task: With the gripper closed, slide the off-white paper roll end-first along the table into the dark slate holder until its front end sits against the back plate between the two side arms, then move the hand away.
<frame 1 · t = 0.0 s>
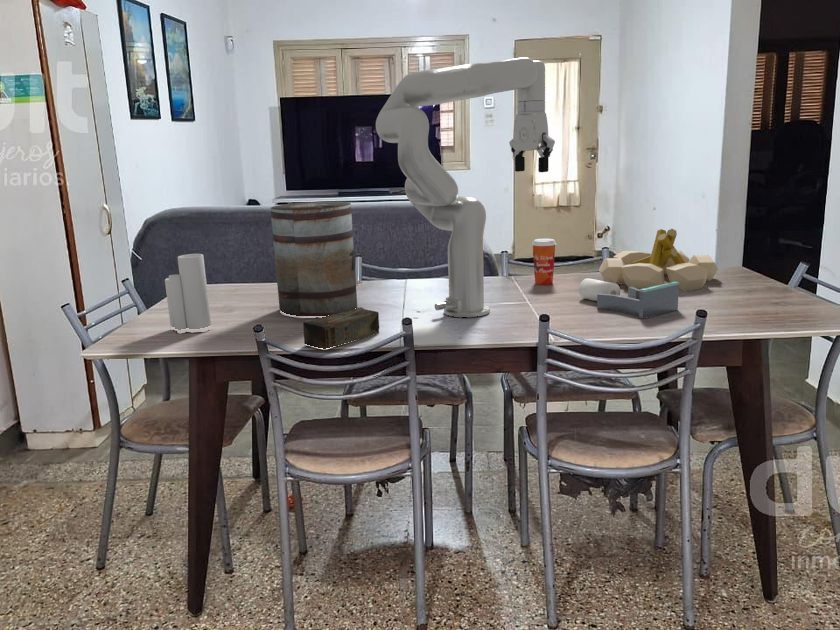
hand: (531, 171, 202), 37 cm above the table, tool pointing down, fingers open, 9 cm apart
vase: (190, 331, 192), on the table
campfire: (657, 282, 229), on the table
olive brown box: (343, 341, 177), on the table
paper cup: (544, 283, 232), on the table
roll: (599, 301, 205), on the table
barrel: (319, 309, 210), on the table
holder: (641, 310, 193), on the table
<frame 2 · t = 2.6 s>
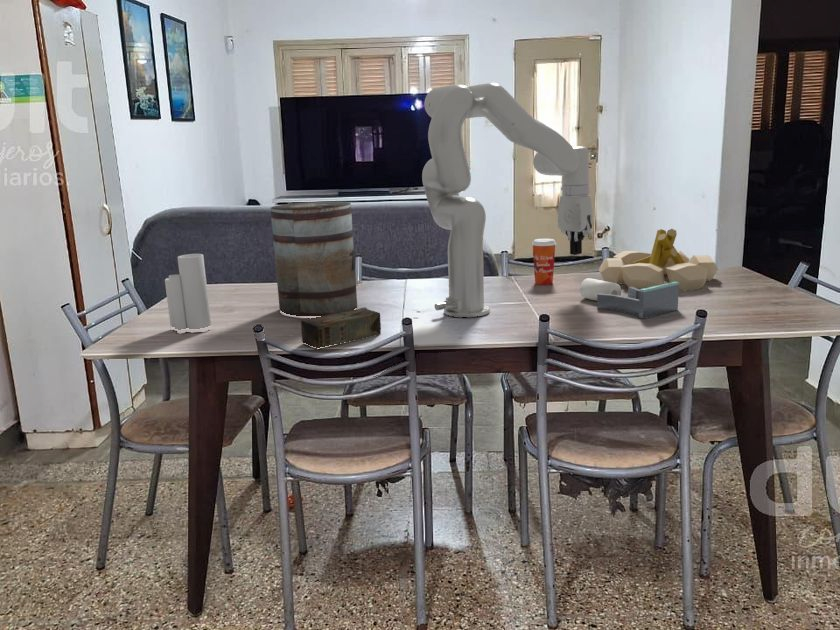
hand: (575, 253, 211), 12 cm above the table, tool pointing down, fingers closed
roll: (599, 301, 205), on the table, tilted 8°
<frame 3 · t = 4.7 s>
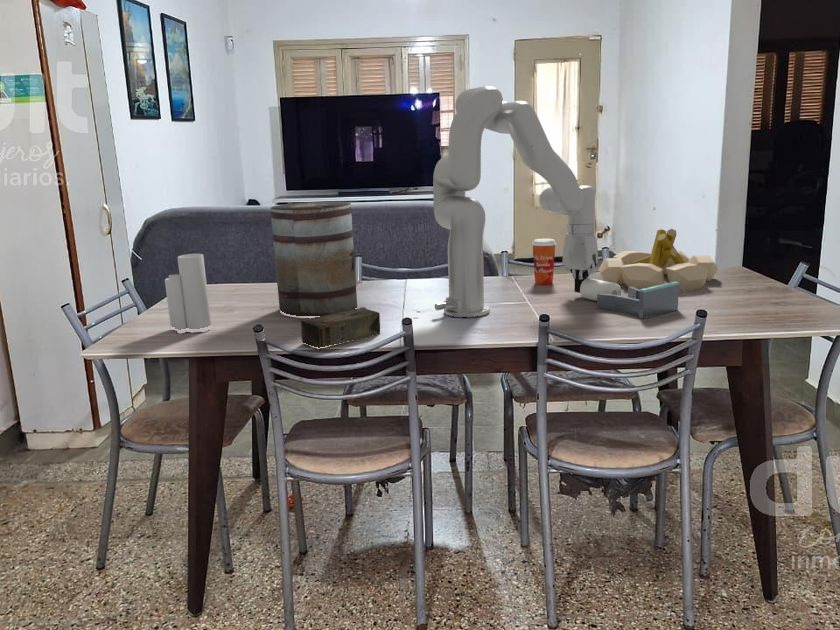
hand: (580, 291, 211), 2 cm above the table, tool pointing down, fingers closed
roll: (600, 301, 205), on the table, touching gripper
everything else where it was.
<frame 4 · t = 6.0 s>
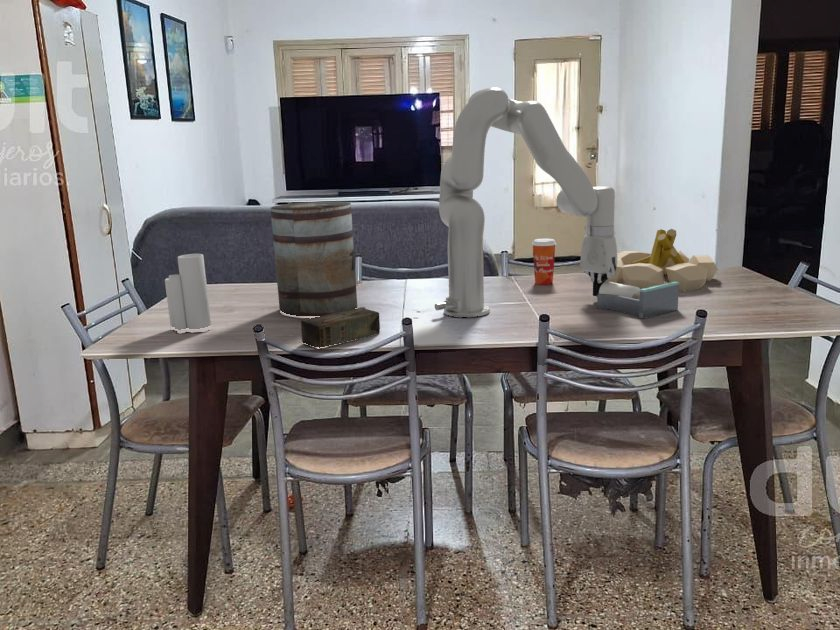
hand: (598, 295, 205), 2 cm above the table, tool pointing down, fingers closed
roll: (619, 305, 199), on the table, touching gripper
everything else where it was.
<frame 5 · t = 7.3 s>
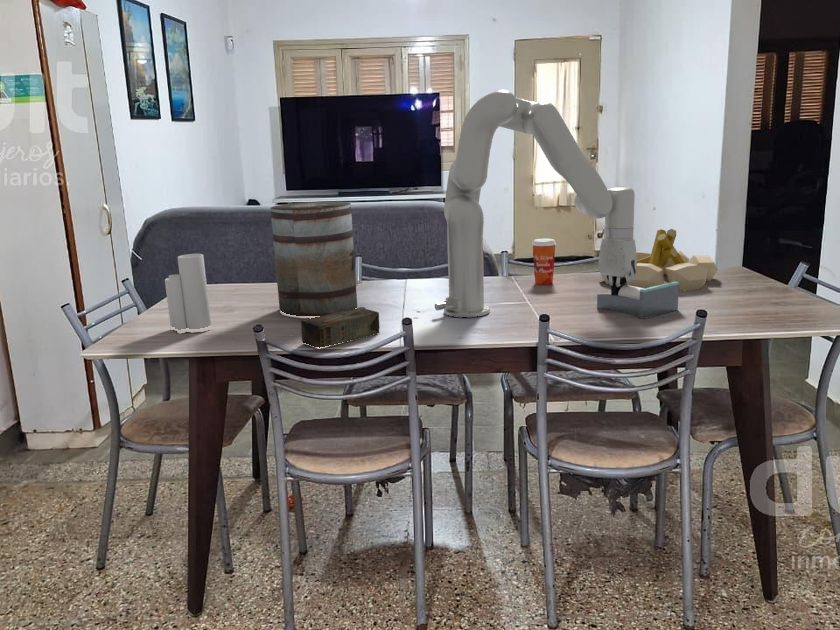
hand: (617, 299, 200), 2 cm above the table, tool pointing down, fingers closed
roll: (639, 309, 194), on the table, touching gripper
everything else where it was.
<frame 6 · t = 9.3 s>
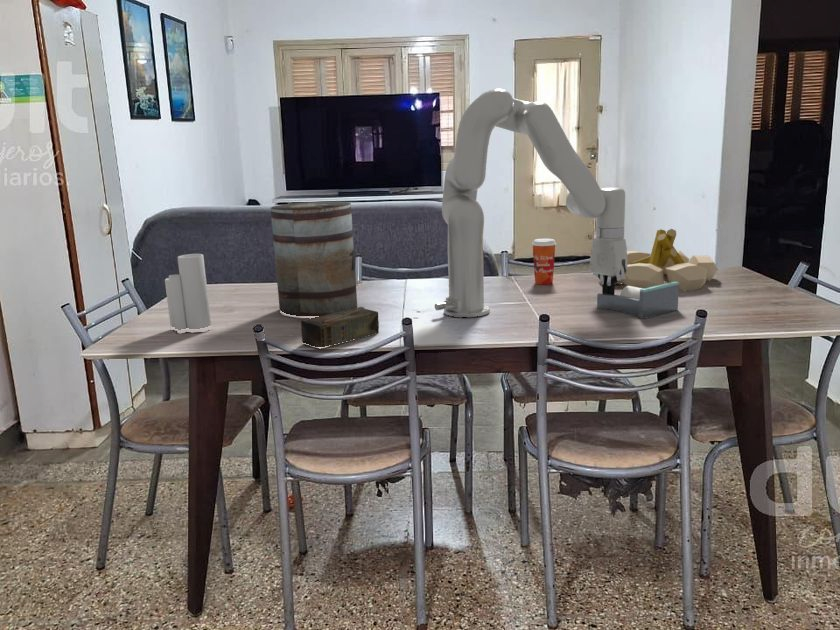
hand: (608, 298, 202), 1 cm above the table, tool pointing down, fingers closed
roll: (641, 310, 193), on the table
everything else where it was.
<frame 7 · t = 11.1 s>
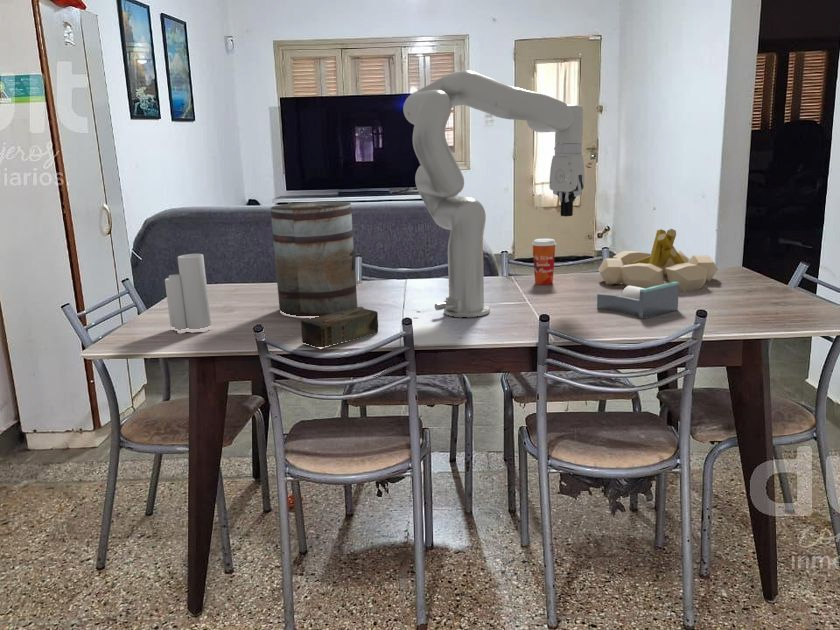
hand: (566, 215, 206), 24 cm above the table, tool pointing down, fingers closed
roll: (641, 310, 193), on the table, tilted 12°
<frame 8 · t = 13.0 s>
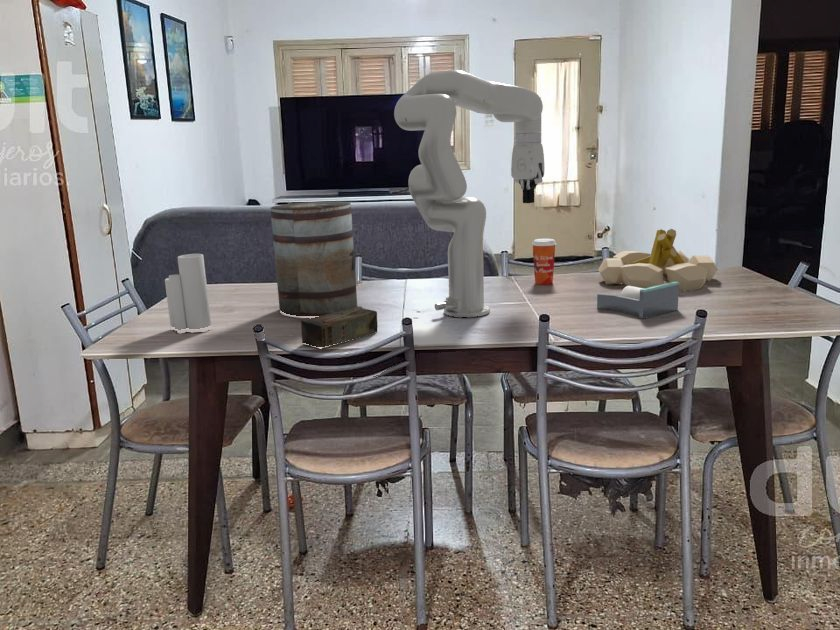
hand: (528, 202, 214), 27 cm above the table, tool pointing down, fingers closed
roll: (641, 310, 193), on the table, tilted 6°
at the end: roll 0.8 cm from the target spot on the holder, point 0.0 cm above the holder's base; roll moved 14.8 cm from its start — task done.
